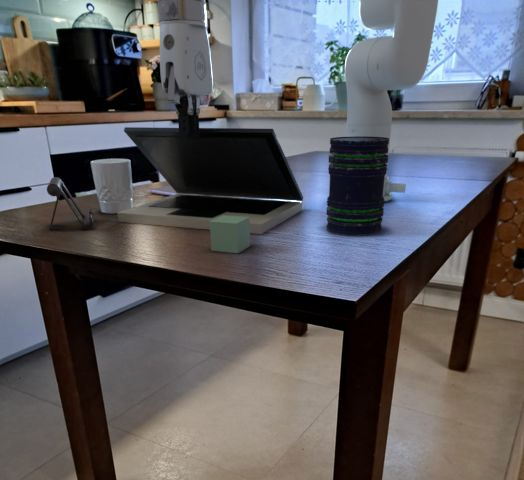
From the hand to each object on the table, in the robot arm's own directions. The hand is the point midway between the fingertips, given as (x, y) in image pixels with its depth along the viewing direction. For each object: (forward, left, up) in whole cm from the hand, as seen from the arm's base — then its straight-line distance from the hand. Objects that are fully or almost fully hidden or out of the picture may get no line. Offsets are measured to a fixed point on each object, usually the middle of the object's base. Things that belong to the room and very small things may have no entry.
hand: (189, 139), depth 91 cm
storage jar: (-29, -6, -15) cm, 33 cm away
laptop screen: (0, -10, -6) cm, 12 cm away
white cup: (+22, -5, -15) cm, 27 cm away
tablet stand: (+21, +10, -15) cm, 28 cm away
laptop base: (0, -8, -15) cm, 17 cm away
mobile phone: (+20, -28, -15) cm, 37 cm away
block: (-14, +14, -15) cm, 24 cm away
